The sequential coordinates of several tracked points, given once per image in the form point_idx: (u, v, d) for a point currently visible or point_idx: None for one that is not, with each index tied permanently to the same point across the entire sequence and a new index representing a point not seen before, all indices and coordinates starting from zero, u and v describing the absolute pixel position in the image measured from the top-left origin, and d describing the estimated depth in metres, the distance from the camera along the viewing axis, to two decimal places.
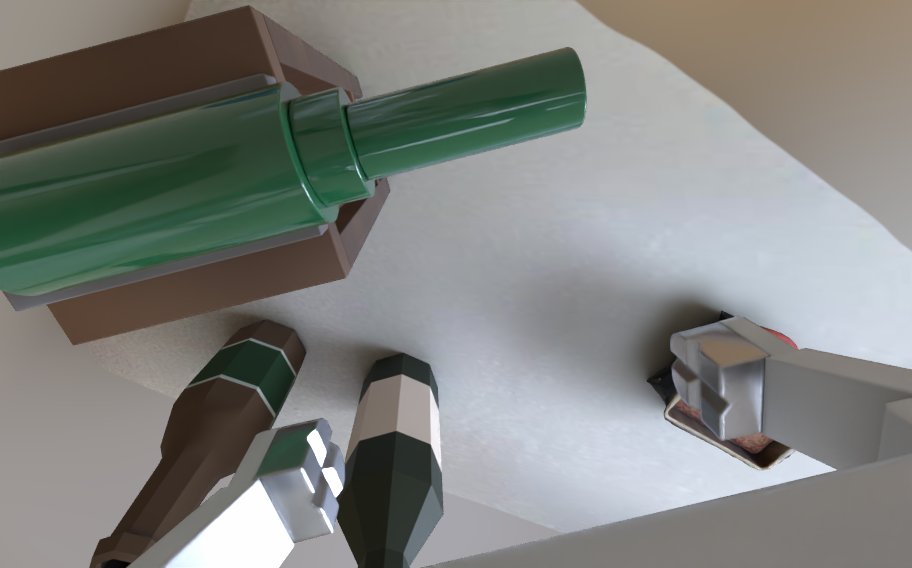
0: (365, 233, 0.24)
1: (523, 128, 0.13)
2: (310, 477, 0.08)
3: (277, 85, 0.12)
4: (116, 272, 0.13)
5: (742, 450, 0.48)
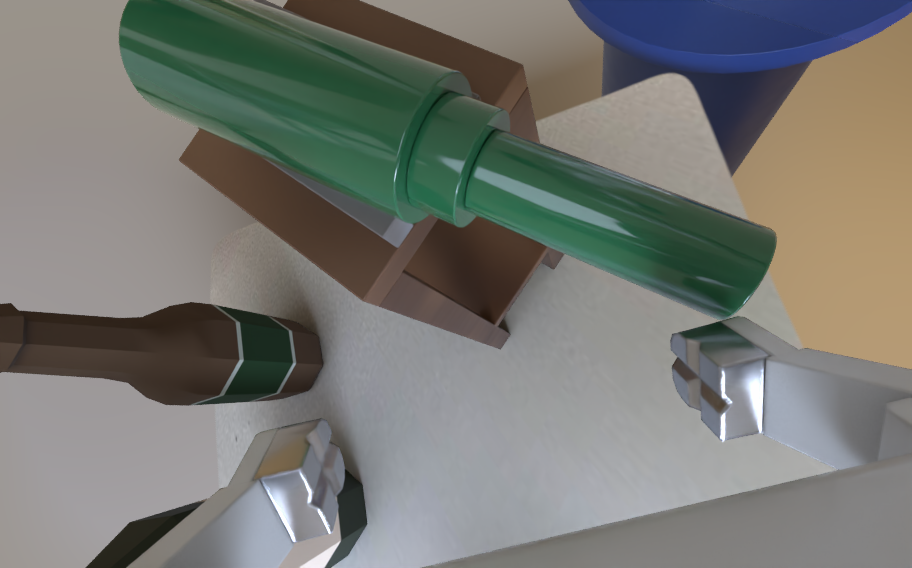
0: (433, 320, 0.21)
1: (658, 268, 0.10)
2: (309, 477, 0.08)
3: (456, 70, 0.11)
4: (208, 123, 0.13)
5: None
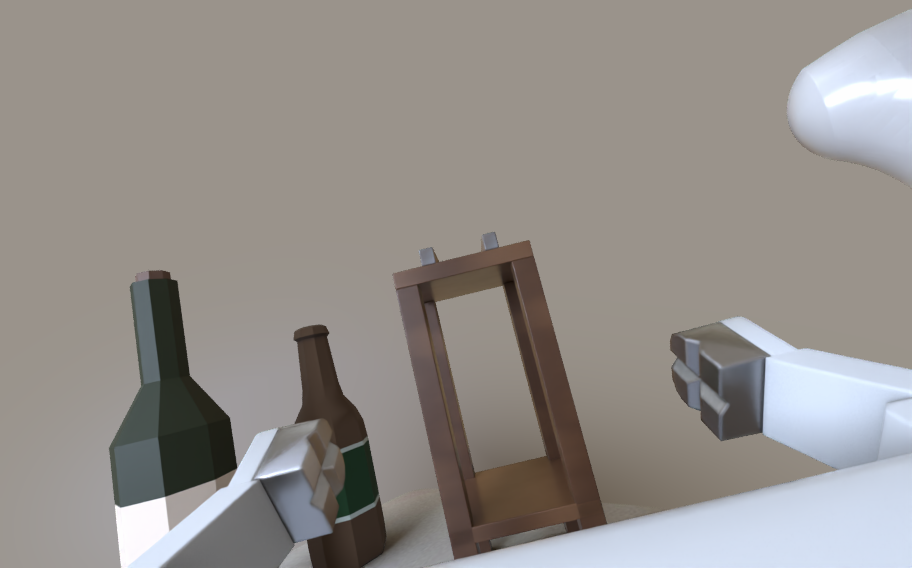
0: (415, 364, 0.29)
1: None
2: (310, 477, 0.08)
3: None
4: None
5: None
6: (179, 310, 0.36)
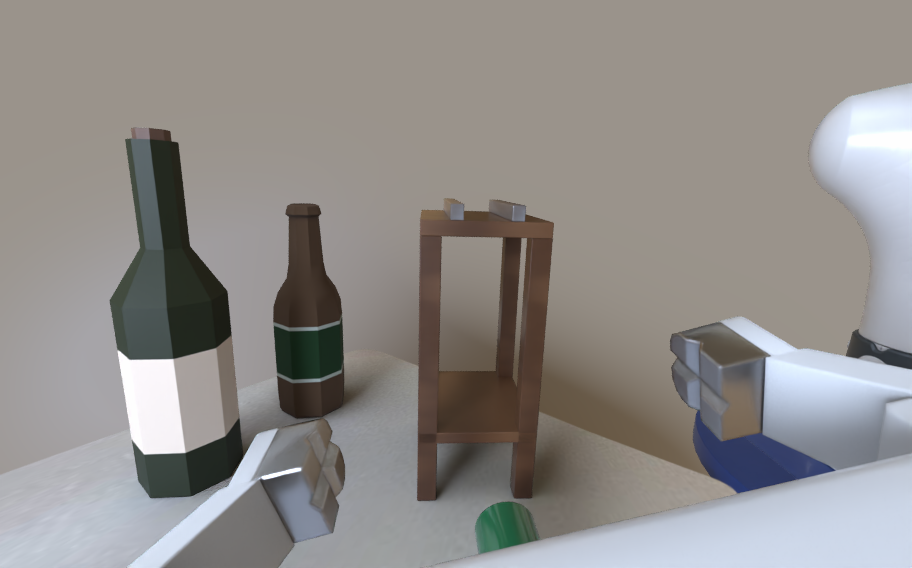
0: (422, 306, 0.32)
1: None
2: (310, 477, 0.08)
3: None
4: (500, 539, 0.28)
5: None
6: (180, 177, 0.34)
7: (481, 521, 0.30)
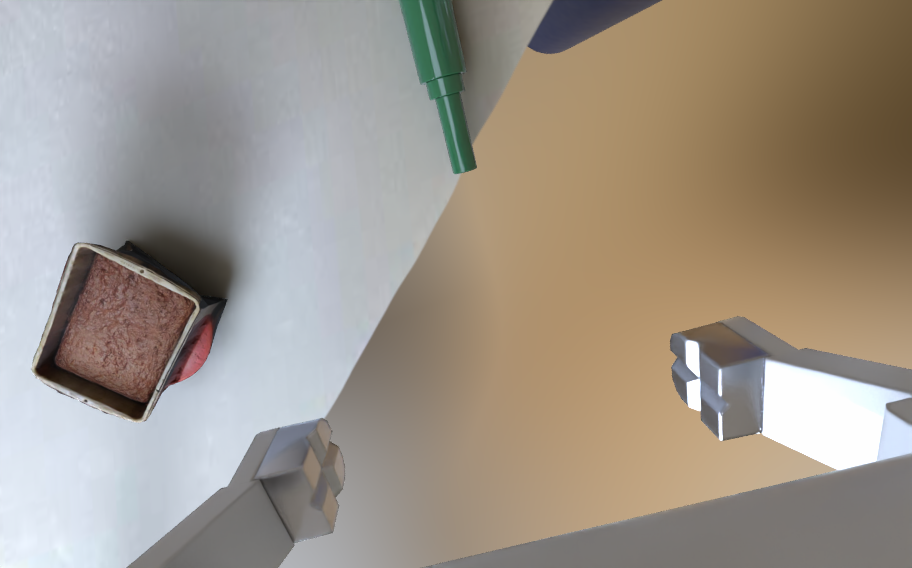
0: None
1: (464, 150, 0.40)
2: (309, 476, 0.08)
3: None
4: None
5: (54, 347, 0.42)
6: None
7: None
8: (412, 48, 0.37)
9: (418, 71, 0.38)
